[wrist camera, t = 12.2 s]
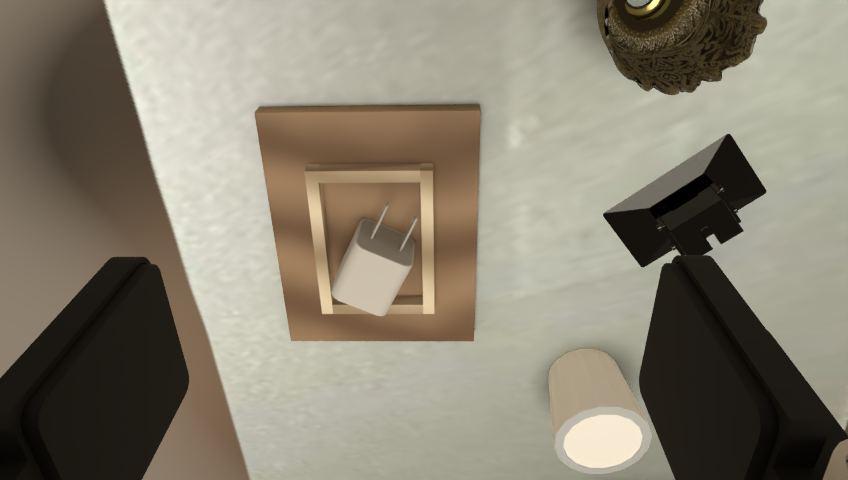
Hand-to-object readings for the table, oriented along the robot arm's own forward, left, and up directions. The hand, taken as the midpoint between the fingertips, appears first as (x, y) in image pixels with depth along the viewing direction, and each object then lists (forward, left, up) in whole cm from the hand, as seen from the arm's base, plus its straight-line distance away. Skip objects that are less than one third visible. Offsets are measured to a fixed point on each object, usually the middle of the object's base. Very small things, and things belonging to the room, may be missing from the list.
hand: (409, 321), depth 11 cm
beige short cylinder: (+27, +12, -28) cm, 41 cm away
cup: (-2, +12, -28) cm, 31 cm away
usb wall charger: (+13, -3, -27) cm, 31 cm away
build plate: (+12, +17, -29) cm, 36 cm away
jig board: (+14, -4, -28) cm, 32 cm away
